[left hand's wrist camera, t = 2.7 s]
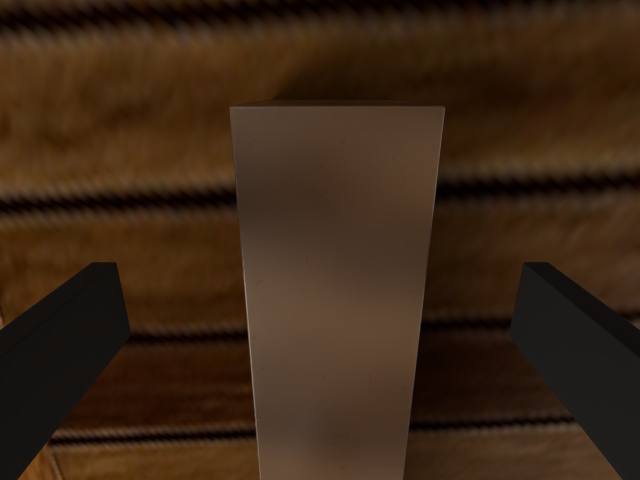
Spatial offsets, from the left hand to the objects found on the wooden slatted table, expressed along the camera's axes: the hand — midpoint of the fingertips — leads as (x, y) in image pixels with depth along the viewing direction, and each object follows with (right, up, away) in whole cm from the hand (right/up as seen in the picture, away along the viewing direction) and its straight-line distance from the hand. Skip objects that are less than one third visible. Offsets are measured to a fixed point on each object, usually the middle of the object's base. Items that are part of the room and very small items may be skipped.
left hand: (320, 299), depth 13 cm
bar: (+1, -14, +15) cm, 20 cm away
